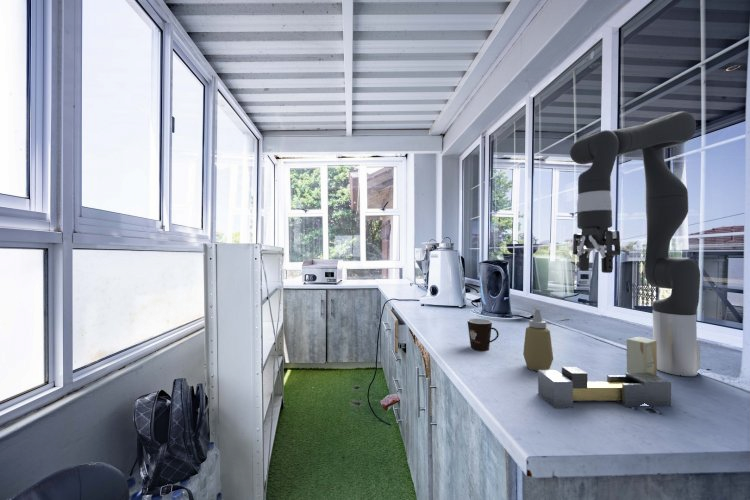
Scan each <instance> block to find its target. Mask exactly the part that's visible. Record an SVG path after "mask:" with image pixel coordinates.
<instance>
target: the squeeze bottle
mask: <svg viewBox="0 0 750 500" xmlns="http://www.w3.org/2000/svg"><path fill="white" fill-rule="evenodd" d="M528 325H529V326H528V327H526V328H525V334H524V342H523V343H524V345H523V354H522V355H523V358H524V361H525V364H526V366H527V368H528V369H529V370H532V371H536V372H538V370H551V366H552V363H553V362H554V354H553V353H554V351H553V345H552V337H551V330H550V329H549V328H547V321H545V320H543V317H542V313H541V310H540V308H535V309H534V313H533V317H532V319H529V320H528Z"/></svg>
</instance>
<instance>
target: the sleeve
mask: <svg viewBox="0 0 750 500" xmlns="http://www.w3.org/2000/svg"><path fill="white" fill-rule="evenodd" d="M606 382H625V383H622V400H615V401H616V402H617V403H619V404H621V405H622V406H623V407H641V406H640V405H642V404H644V403H645V404H647V405H649V406H648V407H672V381H669V380H667V379H665V378H663V377H661V376H658V375H657V376H656V375H654V374H652V373H627V372H625V374H624V375H622V374H621V375H619V374H618V375H616V374H615V375H614V374H613V375H611V374H610V375H607V376H606Z"/></svg>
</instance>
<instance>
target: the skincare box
mask: <svg viewBox="0 0 750 500" xmlns="http://www.w3.org/2000/svg"><path fill="white" fill-rule="evenodd" d="M626 373H652V374H654V375H656V376H658V369H657V340H653V338H652V339H651V338H647V337H644V336H643V337H642V336H635V337H631V338H626Z"/></svg>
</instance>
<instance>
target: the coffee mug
mask: <svg viewBox="0 0 750 500" xmlns="http://www.w3.org/2000/svg"><path fill="white" fill-rule="evenodd" d="M466 320H467V328H468V336H469V343H470V344H469V345H470V349H471V350H474V351H478V352H487V351H489V350H490V346H491V345H490V344H491V343H493V342H495V341H496V340H497V339H498V338H499V335H500V333H499V330H498V329H497V328H496V327H492V326H493V325H492V324H493V320H490V319H486V318H470V319H466ZM492 330H493V331H494V332H495V333H496V336H495V337H494V338H493V339H491V337H492V336H491V335H492Z"/></svg>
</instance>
